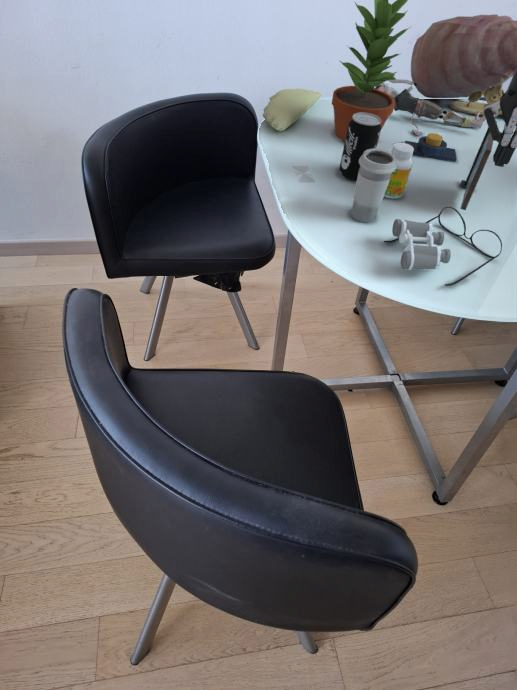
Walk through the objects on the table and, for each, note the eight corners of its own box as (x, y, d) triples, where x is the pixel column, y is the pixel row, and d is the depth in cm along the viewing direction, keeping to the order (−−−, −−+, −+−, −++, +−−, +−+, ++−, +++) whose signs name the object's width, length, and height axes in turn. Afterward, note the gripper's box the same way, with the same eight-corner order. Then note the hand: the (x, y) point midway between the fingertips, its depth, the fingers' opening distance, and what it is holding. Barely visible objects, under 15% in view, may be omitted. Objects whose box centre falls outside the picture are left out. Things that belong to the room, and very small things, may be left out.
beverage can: (364, 185, 103) (379, 128, 94) (335, 177, 104) (346, 120, 95) (371, 172, 107) (386, 116, 98) (342, 164, 108) (354, 108, 100)
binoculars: (391, 229, 88) (396, 212, 86) (434, 232, 89) (441, 215, 86) (402, 273, 81) (408, 256, 78) (450, 276, 81) (458, 259, 78)
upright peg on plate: (471, 185, 107) (499, 120, 97) (472, 190, 105) (501, 124, 95) (460, 183, 107) (487, 118, 97) (461, 188, 105) (488, 122, 95)
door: (471, 184, 104) (496, 128, 95) (465, 210, 96) (491, 151, 87) (466, 183, 104) (490, 126, 95) (460, 208, 96) (485, 149, 88)
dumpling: (320, 103, 132) (287, 91, 134) (324, 86, 129) (290, 74, 131) (280, 139, 116) (243, 126, 118) (284, 121, 112) (245, 107, 114)
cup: (348, 202, 97) (363, 144, 88) (381, 210, 96) (399, 151, 88) (343, 221, 92) (358, 161, 84) (378, 229, 92) (396, 169, 83)
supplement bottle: (375, 195, 100) (388, 149, 93) (378, 183, 104) (391, 138, 97) (401, 201, 99) (416, 155, 92) (403, 189, 103) (418, 144, 96)
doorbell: (453, 150, 118) (457, 140, 116) (455, 162, 114) (459, 152, 112) (404, 142, 119) (407, 132, 117) (404, 154, 115) (407, 143, 113)
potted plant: (356, 155, 112) (393, -2, 90) (314, 129, 120) (338, -21, 98) (400, 142, 119) (444, -7, 97) (357, 118, 126) (389, -24, 105)
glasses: (443, 200, 91) (436, 222, 95) (384, 233, 86) (380, 254, 90) (508, 239, 83) (498, 261, 87) (448, 277, 78) (440, 299, 82)
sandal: (529, 134, 128) (544, 101, 122) (446, 107, 137) (457, 75, 131) (542, 122, 136) (557, 90, 130) (463, 97, 145) (474, 67, 139)
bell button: (439, 141, 116) (442, 134, 115) (440, 148, 114) (443, 140, 112) (424, 139, 116) (427, 131, 115) (425, 145, 114) (427, 138, 113)
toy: (495, 82, 122) (376, 66, 124) (489, 140, 119) (367, 123, 121) (480, 105, 131) (369, 90, 133) (474, 160, 128) (360, 144, 130)
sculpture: (550, -4, 114) (503, 29, 142) (428, 0, 116) (406, 32, 144) (534, 89, 120) (492, 103, 148) (419, 90, 123) (399, 104, 151)
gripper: (504, 60, 76) (462, 166, 89) (593, 75, 74) (537, 181, 87) (501, 48, 81) (462, 149, 94) (584, 61, 80) (533, 163, 92)
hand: (498, 164), depth 90 cm, fingers closed
